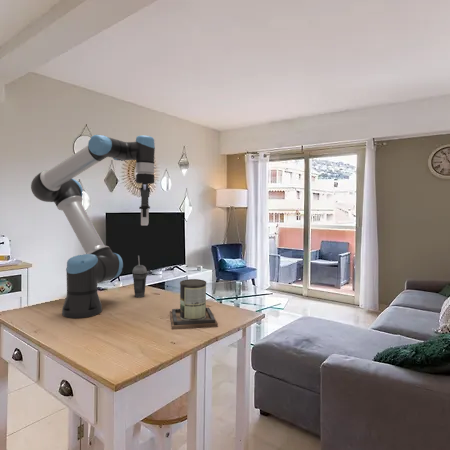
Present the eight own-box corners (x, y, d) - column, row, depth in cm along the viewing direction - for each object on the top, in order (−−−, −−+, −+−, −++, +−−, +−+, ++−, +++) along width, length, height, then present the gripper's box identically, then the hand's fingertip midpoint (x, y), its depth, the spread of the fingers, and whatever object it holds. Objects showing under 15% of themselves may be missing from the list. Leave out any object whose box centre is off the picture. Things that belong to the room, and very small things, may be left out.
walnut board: (169, 314, 139) (169, 308, 139) (210, 312, 143) (210, 306, 143) (171, 329, 123) (171, 322, 123) (217, 326, 126) (217, 320, 126)
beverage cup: (136, 299, 160) (136, 257, 159) (129, 295, 166) (129, 255, 165) (149, 296, 165) (150, 256, 164) (142, 293, 171) (143, 254, 169)
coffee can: (174, 317, 131) (174, 282, 131) (191, 311, 140) (192, 277, 139) (194, 323, 125) (194, 286, 125) (211, 316, 134) (211, 281, 133)
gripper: (154, 171, 130) (153, 226, 131) (154, 176, 154) (154, 222, 155) (134, 170, 128) (133, 226, 129) (137, 175, 153) (137, 222, 154)
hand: (144, 224), depth 142 cm, fingers open, 13 cm apart
